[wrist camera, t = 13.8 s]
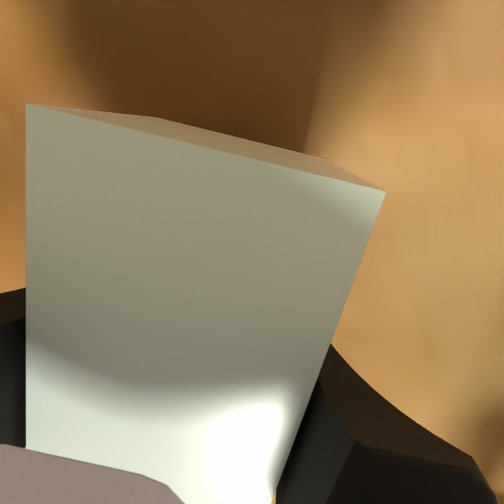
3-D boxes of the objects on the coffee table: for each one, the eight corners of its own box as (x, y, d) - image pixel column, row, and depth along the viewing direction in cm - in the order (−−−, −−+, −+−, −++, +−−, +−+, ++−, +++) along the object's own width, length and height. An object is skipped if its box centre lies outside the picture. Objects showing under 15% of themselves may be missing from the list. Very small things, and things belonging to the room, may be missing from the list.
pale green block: (326, 159, 12) (386, 191, 6) (250, 411, 16) (237, 593, 10) (156, 117, 12) (26, 103, 5) (123, 382, 16) (25, 548, 9)
